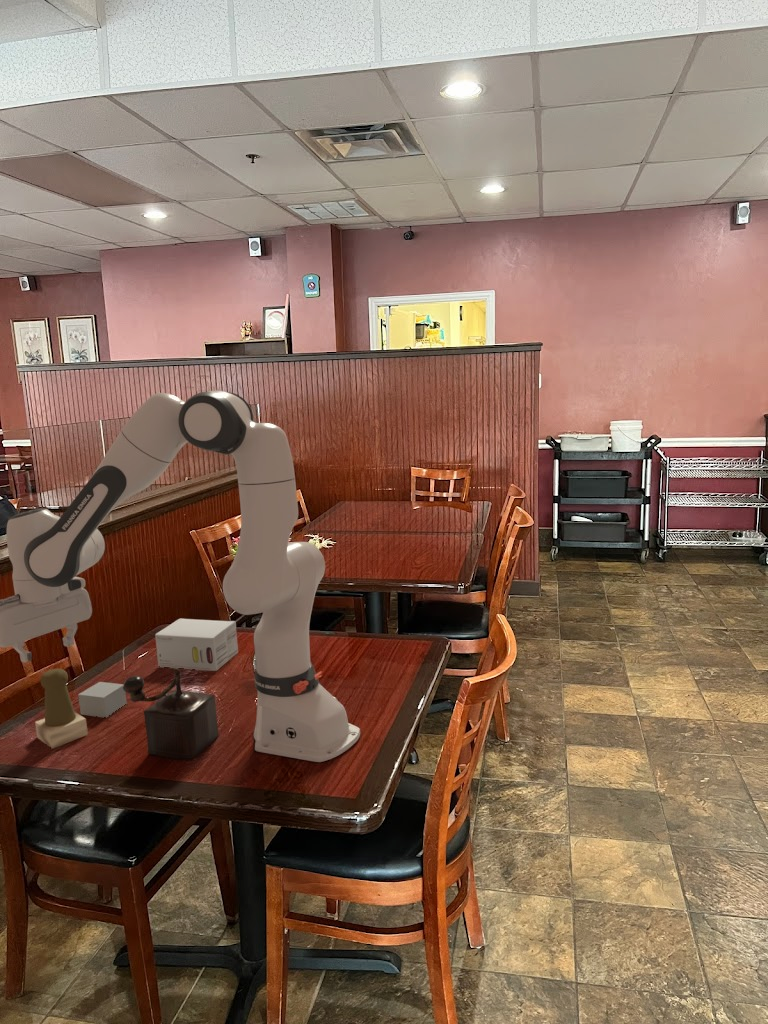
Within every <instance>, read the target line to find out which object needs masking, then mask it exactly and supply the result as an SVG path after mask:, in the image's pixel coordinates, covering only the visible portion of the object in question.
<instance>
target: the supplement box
mask: <svg viewBox="0 0 768 1024" xmlns="http://www.w3.org/2000/svg"><path fill="white" fill-rule="evenodd" d="M237 635H238V633H237V623H236V621H235V620H215V619H214V620H212V619H195V618H194V619H193V618H178V619H176V620H175V621H174V622H171V624H169V625H167V626H165V627H164V628H162V629H161V630H160V631H158V632H156V633H155V634H154V636H155V645H156V646H155V647H156V655H157V667H158V668H164V667H170V668H169V669H177V668H184V669H183V670H192V669H195V671H210V672H217V671H218V670H219V669H220V668H222V667H223V666H224V665H225V664H227V662H228V661H230V660H231V659H232V658H233V657H235V656H236V655H237V654H238V653H239V646H238V638H237V637H238V636H237ZM159 666H160V667H159Z"/></svg>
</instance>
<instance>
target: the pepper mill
mask: <svg viewBox="0 0 768 1024" xmlns="http://www.w3.org/2000/svg"><path fill="white" fill-rule="evenodd" d="M173 673H174V676H173V680H172V682H170V684H169V685H168V687H166V688H165V689H164V690H163V691H161V692H160V693H158V694H156V695H154V696H146V693H145V692H144V691H143V688H144V686H145V680H144V678H143V677H142V676H138V675H132V676H130V677H128V678H126V679H125V680H124V682H123V684H124V686H123V689H124V691H125V693H128V694H129V695H130V698H129V701H131V702H132V703H135V702H137V703H138V702H149V703H150V702H154V701H155V702H154V703H153V704H151V705H150V706H148V708H146V709H144V710H143V714H144V715H143V716H144V722H145V733H146V734H145V735H146V741H147V754H150V755H153V756H156V757H158V758H159V757H161V758H165V759H174V760H179V761H180V760H181V761H192V760H194V759H195V758H197V757H198V756H199V755H200V754H201V753H203V752H204V751H205V750H206V749H207V748H208V747H209V746H210V745H211V744H212V743H213V742H215V740H216V739H217V738H218V737H219V733H220V732H219V728H218V727H219V726H218V717H217V704H216V696H215V694H213V693H212V694H210V693H204V692H203V693H202V692H194V691H187V690H182V687H181V685H182V684H181V680H182V674H181V669H178V668H174V670H173ZM174 687H176V688H175V689H174ZM171 690H172V691H171Z"/></svg>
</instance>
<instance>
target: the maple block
mask: <svg viewBox="0 0 768 1024" xmlns="http://www.w3.org/2000/svg"><path fill="white" fill-rule="evenodd" d="M75 715H76V718H75V719H74V720H73V721H72V722H70V723H68V724H66V725H62V726H57V727H49V726H46V725H45V717H44V718H42V719H41V718H40V719H38V720H36V721H35V722H34V724H35V731H36V737H37V739H38V740H39V741H41V742H42V743H44V744H45V745H46V744H47V745H46V746H47V747H49V748H50V747H51V750H52V749H55V748H58V747H61V746H63V745H65V744H67V743H70V742H74V741H75V740H79V739H80V738H82V737H85V736H88V734H89V733H88V726H87V725H88V724H87V718H85V717H84V716H83V715H81V714H80V713H77V712H76V711H75Z"/></svg>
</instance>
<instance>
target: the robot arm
mask: <svg viewBox="0 0 768 1024" xmlns="http://www.w3.org/2000/svg"><path fill="white" fill-rule="evenodd" d="M253 414H254V413H253V410H252V408H251V406H250V404H249V403H248V402H247V401H246V399H244V398H243V397H242V396H240V395H238V394H236V393H234V392H231V391H230V392H229V391H228V392H227V391H224V390H215V389H214V390H208V391H201V392H197V393H196V394H193V395H191V396H190V398H188V399H187V400H186V401H184V400H182V399H181V397H180V398H179V396H177V395H174V394H171V393H167V392H157V393H155V394H153V395H151V396H150V397H149V398H147V400H146V401H144V402H143V403H142V404H141V406H139V407H138V409H136V411H135V412H134V413H133V414H132V415H131V416H130V418H129V419H128V421H126V423H125V425H124V426H123V427H122V428H121V430H120V432H119V433H118V434H117V436H116V438H115V439H114V441H113V442H112V444H111V445H110V447H109V449H108V450H107V452H106V453H105V455H104V457H103V458H102V460H101V461H100V463H99V465H98V466H97V468H95V471H94V472H93V473H92V475H91V477H90V479H89V480H88V481H87V482H86V484H85V485H84V487H83V488H81V490H80V491H79V492H78V494H77V496H76V497H74V499H73V500H72V502H71V503H70V505H68V507H67V508H66V509H65V511H64V512H63V513H62V515H61V516H59V515H56V514H54V513H53V512H51V510H49V509H47V508H42V507H41V508H34V509H31V510H27V511H24V512H20V513H17V514H14V515H12V516H11V517H10V518H9V519H8V520H7V524H6V545H7V551H8V558H9V560H10V562H11V565H12V576H11V577H12V578H11V579H12V583H13V590H14V595H12V596H8V597H6V598H4V599H3V598H2V599H0V648H8V647H12V648H13V649H14V650H15V651H16V652H17V653H18V655H19V659H20V661H21V663H23V664H24V663H28V662H30V661H32V660H33V657H32V656H33V655H32V654H33V653H32V651H28V650H25V649H24V648H23V647H25V645H26V644H25V641H29V640H32V639H34V638H38V637H40V636H43V635H46V634H49V633H52V632H54V631H55V632H56V631H58V630H60V629H64V628H66V629H67V630H66V635H65V636H64V637H62V643H63V646H64V647H71V646H74V645H75V639H74V637H75V635H76V633H77V630H78V623H81V622H84V621H86V620H87V621H88V620H89V619H90V618H91V616H92V615H93V614H92V613H93V608H92V602H91V598H90V595H89V592H88V591H87V589H85V587H86V580H85V578H82V577H79V576H78V575H80V574H82V572H85V571H86V570H88V569H90V568H91V567H93V566H94V565H96V564H97V563H98V562H100V560H101V559H102V558H103V556H104V555H105V551H106V540H105V538H104V535H103V533H102V532H101V531H100V529H98V528H99V526H100V525H101V524H102V522H103V521H104V520H105V519H106V517H107V516H108V515H109V514H110V513H111V512H112V511H113V510H114V509H115V508H116V507H118V506H120V505H121V504H122V503H123V502H125V501H127V500H128V499H129V498H131V497H132V496H135V495H136V494H139V493H140V492H142V491H144V490H145V489H147V488H149V487H150V486H152V484H153V483H154V482H156V481H157V480H158V479H159V478H160V477H161V476H162V475H163V474H164V473H165V472H166V470H167V469H168V468H169V466H170V465H171V463H172V462H173V461H174V459H175V457H176V456H177V455H178V453H179V452H180V450H181V449H182V448H183V447H184V446H185V445H187V444H188V443H189V444H190V445H192V446H194V447H196V448H198V449H201V450H205V451H207V452H208V451H209V452H214V453H217V454H221V455H227V456H229V455H231V456H232V458H233V460H234V463H235V468H236V473H237V483H238V484H237V485H238V493H239V495H238V496H239V503H240V505H239V506H240V521H241V522H240V533H239V537H238V538H239V540H238V543H237V547H236V553H235V555H234V558H233V561H232V563H231V566H230V567H229V569H228V570H227V572H226V573H225V575H224V577H223V580H222V592H223V595H224V599H225V601H226V603H227V604H228V605H229V606H230V608H231V609H232V610H234V612H236V613H238V614H240V615H244V616H245V615H246V616H249V615H250V616H251V615H256V614H261V613H262V615H261V618H260V620H259V622H258V624H257V626H256V627H255V629H254V633H253V644H254V656H255V669H254V680H253V681H254V684H255V686H254V687H255V689H256V690H257V701H256V702H257V704H256V721H255V727H254V732H253V739H254V741H255V742H254V750H255V751H256V752H258V753H264V754H270V755H275V756H280V757H281V756H282V757H286V758H291V759H292V758H293V759H298V760H304V761H309V762H314V763H322V762H325V761H328V760H332V759H334V758H336V757H338V756H340V755H341V754H343V753H344V752H346V751H348V750H349V749H350V748H351V747H352V746H354V744H356V743H357V742H358V740H359V739H360V736H361V729H360V728H359V727H358V726H356V725H354V724H352V723H349V720H348V719H349V718H348V715H347V711H346V708H345V706H344V705H343V704H342V703H341V702H340V701H339V700H338V699H337V697H335V696H333V695H332V694H331V693H330V692H329V691H328V690H326V688H325V687H324V686H323V685H321V683H320V680H319V679H321V678H322V677H323V675H321V674H322V673H323V671H319V672H316V669H315V667H314V665H313V663H312V662H311V650H310V623H311V615H312V611H313V606H314V601H315V595H316V593H317V590H318V586H319V584H320V583H321V581H322V579H323V577H324V575H325V572H326V561H325V557H324V555H323V554H322V552H321V550H320V548H318V547H317V545H315V544H313V543H311V542H310V541H309V542H307V541H293V542H292V541H291V542H289V541H290V536H291V533H292V531H293V528H294V526H295V525H296V524H297V521H298V519H299V505H298V493H297V486H296V485H297V483H296V475H295V466H294V460H293V456H292V451H291V447H290V443H289V440H288V437H287V434H286V432H285V431H284V429H282V428H281V427H280V426H278V425H276V424H275V423H269V422H255V421H254V415H253Z"/></svg>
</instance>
